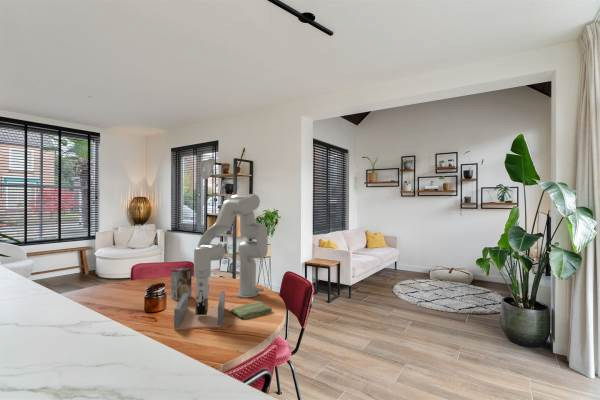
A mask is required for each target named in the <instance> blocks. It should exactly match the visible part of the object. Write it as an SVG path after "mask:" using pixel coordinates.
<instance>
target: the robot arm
mask: <svg viewBox="0 0 600 400" xmlns="http://www.w3.org/2000/svg"><path fill="white" fill-rule="evenodd" d="M260 203H261V199H260V197H259V196H258V195H257V194H255V193H236V194H233V195H231V197H230V199H226V200H224V201H223V203H222V204H221V207H220V209H219V212H218V214H217V217H216V220H215V223H213V225H211V226H210V227H209V228H208V229H206V231H205V232H203V234H202V235H201V237H200V239H199V241H198V244H197V247H195V248H194V250H193V253H194V255H193V278H194V279H195V283H196V284H195V285H196V286H195V292H196V293H195V296H196V300H198V306H197V314H198V315H199V314H205V305H204V299H207V298H208V299H209V295H210V288H209V287H210V282H209V281H210V279H209V278H210V277H211V267H212V261H219V260H222V259H223V258H224V257H225V256H226V248H225V247H224V246H222V245H220V244H213V243H212V241H213V240H214V239H215V238H217V237H218V236H221V235H222V234H224V233H227V232H229V231H231V229H232V226H233V223H234V221H235V219H236V216H239V228H240V229H239V231H240V236H241V238H242V239H245V240H243V241H241V242H240V243H239V244H238V247H237V252H238V257H239V280H238V281H239V288H238V289H239V291H236V296H237V297H238V298H244V299H245V298H246V299H248V298H255V297H257V296H258V295H259V292H264V287H257V285H256V284H257V263H256V261H255V259H264V258H266V256H267V255H268V251H269V250H268V248H269V247H268V228H267V226H266V224H264V223H261V222H256V220H255V213H254V211H256V210H257V209H258V208H259V206H260ZM246 239H247V240H246ZM255 240H256V241H255ZM202 300H203V301H202Z"/></svg>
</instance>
